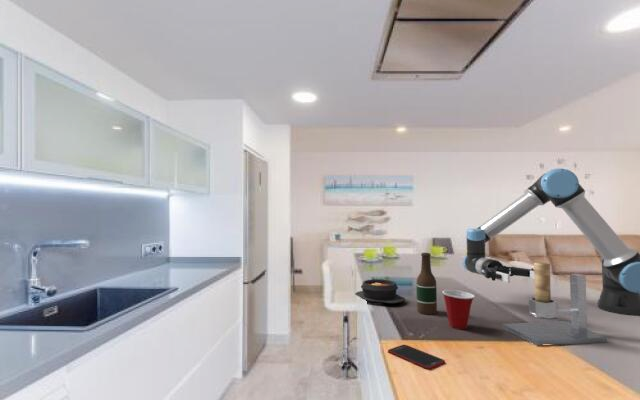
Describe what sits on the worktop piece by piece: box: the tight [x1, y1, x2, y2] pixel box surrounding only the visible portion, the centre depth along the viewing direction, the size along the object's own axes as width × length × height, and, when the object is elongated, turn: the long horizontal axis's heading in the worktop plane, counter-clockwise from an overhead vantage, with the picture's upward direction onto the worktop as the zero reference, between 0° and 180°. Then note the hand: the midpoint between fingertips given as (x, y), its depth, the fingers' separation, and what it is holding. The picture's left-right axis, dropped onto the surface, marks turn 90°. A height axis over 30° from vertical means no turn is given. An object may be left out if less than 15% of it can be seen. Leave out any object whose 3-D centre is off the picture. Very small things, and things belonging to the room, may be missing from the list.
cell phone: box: [387, 344, 446, 371], centre depth 98 cm, size 8×15×1 cm, turn 36°
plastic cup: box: [442, 289, 475, 330], centre depth 124 cm, size 11×11×12 cm
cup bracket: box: [502, 273, 608, 346], centre depth 115 cm, size 24×16×20 cm, turn 97°
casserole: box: [354, 278, 406, 304], centre depth 160 cm, size 25×19×8 cm
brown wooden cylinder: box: [533, 262, 552, 303], centre depth 115 cm, size 4×4×16 cm
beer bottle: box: [416, 252, 438, 316], centre depth 141 cm, size 8×8×24 cm
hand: (526, 278), depth 122 cm, fingers open, 13 cm apart
